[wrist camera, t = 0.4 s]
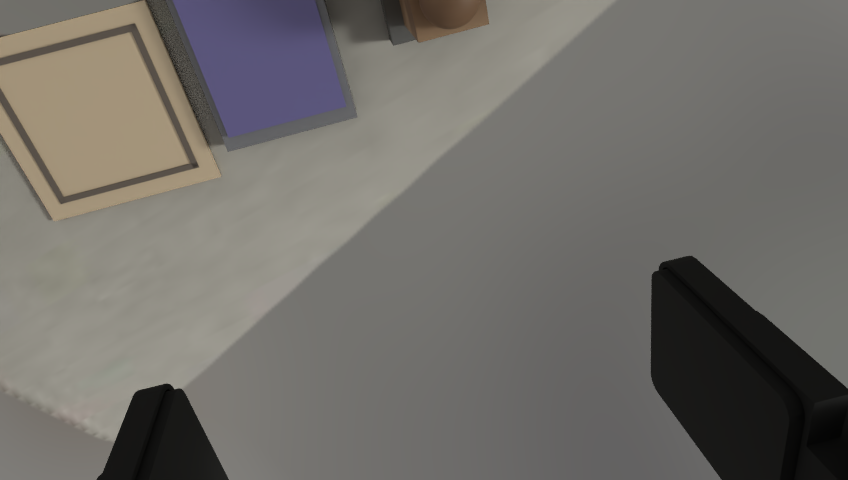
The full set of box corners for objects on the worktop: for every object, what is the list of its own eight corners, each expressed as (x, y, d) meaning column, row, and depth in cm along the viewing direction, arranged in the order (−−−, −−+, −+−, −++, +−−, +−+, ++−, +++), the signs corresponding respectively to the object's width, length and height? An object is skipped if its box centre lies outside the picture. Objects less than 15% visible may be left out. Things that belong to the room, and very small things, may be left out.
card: (-48, 49, 36) (-51, 50, 36) (145, -1, 36) (144, 0, 36) (55, 219, 42) (53, 222, 42) (221, 175, 42) (220, 177, 42)
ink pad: (155, -42, 35) (146, -40, 34) (301, -80, 36) (300, -80, 34) (231, 143, 41) (227, 153, 40) (356, 110, 42) (357, 118, 40)
